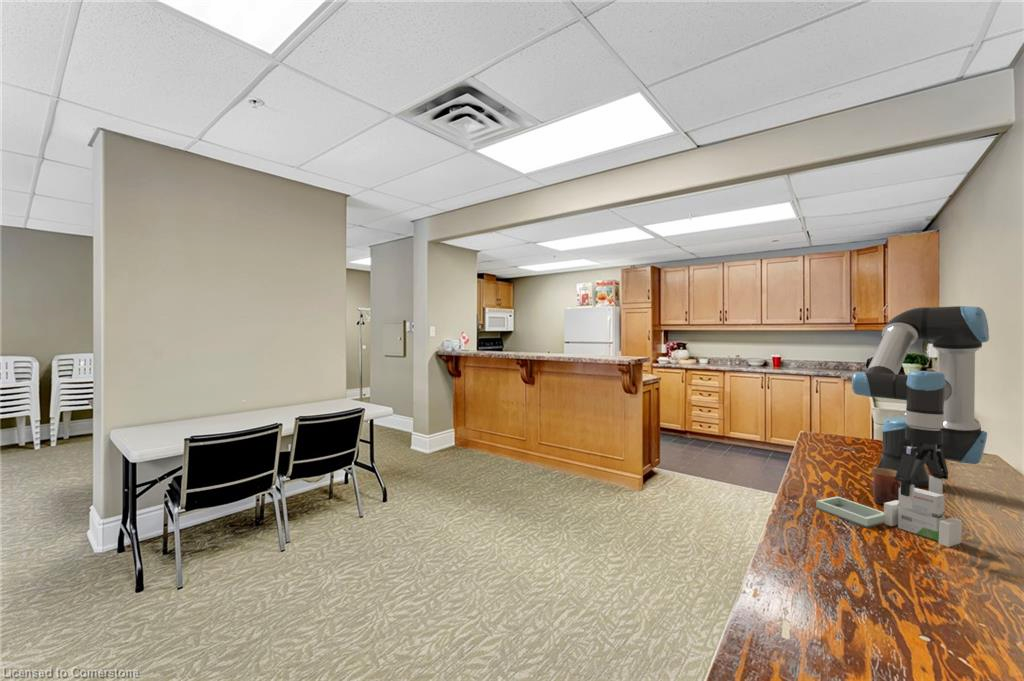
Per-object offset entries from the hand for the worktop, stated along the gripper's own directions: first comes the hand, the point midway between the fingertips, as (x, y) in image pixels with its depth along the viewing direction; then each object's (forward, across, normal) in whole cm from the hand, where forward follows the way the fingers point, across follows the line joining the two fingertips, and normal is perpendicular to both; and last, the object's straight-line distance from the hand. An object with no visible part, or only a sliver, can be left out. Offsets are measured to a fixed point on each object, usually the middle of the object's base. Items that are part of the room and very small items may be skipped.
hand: (921, 504), depth 119 cm
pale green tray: (+8, +6, -14) cm, 17 cm away
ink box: (+8, 0, 0) cm, 8 cm away
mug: (+8, -14, -14) cm, 22 cm away
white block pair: (+8, 0, 0) cm, 8 cm away
